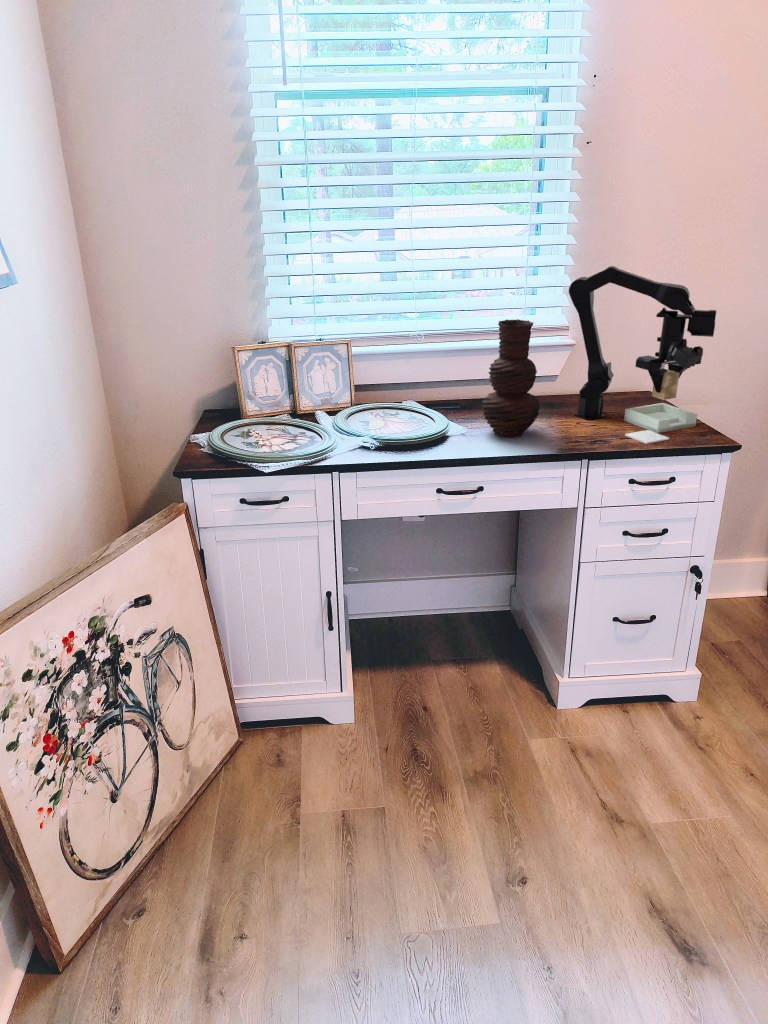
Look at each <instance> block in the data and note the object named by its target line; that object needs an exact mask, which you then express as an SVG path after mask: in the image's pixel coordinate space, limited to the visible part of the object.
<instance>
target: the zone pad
mask: <svg viewBox="0 0 768 1024" xmlns="http://www.w3.org/2000/svg"><path fill="white" fill-rule="evenodd" d="M624 436H625V437H628V438H630V439H633V440H635V441H638V442H641V443H643V444H646V445H648V444H653V443H658V442H662V441H663V442H664V441H668V440H670V437H668V436H665V435H662V434H660V433H655V432H652V431H650V430H647V429H645V430H639V431H634V432H630V433H629V432H628V433H625V434H624Z"/></svg>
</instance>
